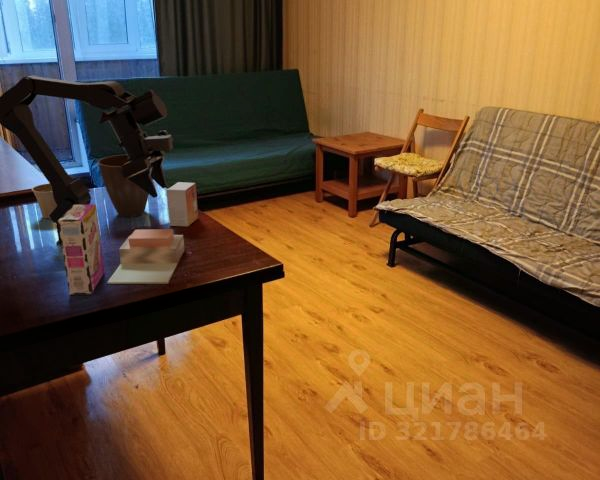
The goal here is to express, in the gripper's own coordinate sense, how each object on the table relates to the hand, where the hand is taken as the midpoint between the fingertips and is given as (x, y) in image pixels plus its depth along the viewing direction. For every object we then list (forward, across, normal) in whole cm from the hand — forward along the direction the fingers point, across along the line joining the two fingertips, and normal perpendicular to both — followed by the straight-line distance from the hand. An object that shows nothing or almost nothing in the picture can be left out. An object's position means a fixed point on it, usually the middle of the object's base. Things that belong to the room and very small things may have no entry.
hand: (160, 192), depth 138 cm
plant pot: (+6, +25, +19) cm, 32 cm away
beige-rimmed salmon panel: (+9, -9, +5) cm, 13 cm away
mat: (+13, -18, +6) cm, 23 cm away
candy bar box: (+9, -23, +16) cm, 29 cm away
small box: (+13, +17, +4) cm, 21 cm away
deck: (+12, -9, +6) cm, 16 cm away
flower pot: (-3, +23, +39) cm, 46 cm away
